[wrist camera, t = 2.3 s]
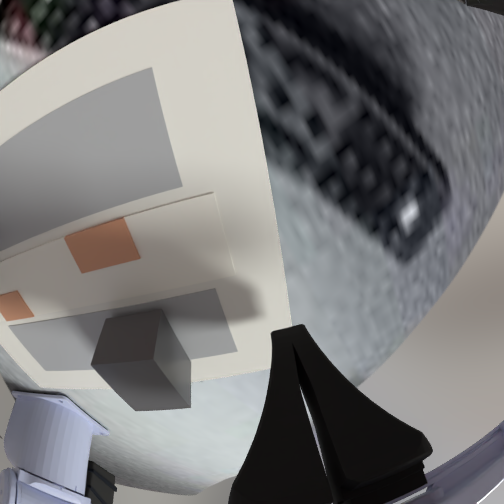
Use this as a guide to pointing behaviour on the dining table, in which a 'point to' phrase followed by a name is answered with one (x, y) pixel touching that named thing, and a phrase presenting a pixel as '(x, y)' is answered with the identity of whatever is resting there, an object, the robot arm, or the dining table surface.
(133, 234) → the switch panel
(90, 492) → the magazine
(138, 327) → the dark grey block
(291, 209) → the dining table surface
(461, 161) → the dining table surface
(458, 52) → the dining table surface
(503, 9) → the electrical switch
